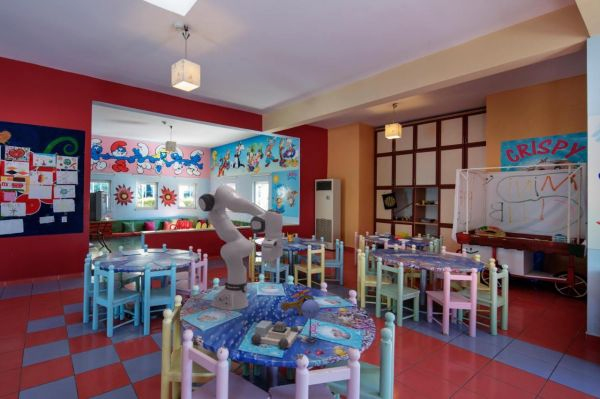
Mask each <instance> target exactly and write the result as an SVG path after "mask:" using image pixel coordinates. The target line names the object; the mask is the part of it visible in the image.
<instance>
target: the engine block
mask: <svg viewBox="0 0 600 399" xmlns="http://www.w3.org/2000/svg"><path fill="white" fill-rule="evenodd" d="M272 325H273V332H278V333H285V332H286V327H287V323H285V322H284V321H279V320H278V321H276V322H275V323H274V324H272Z"/></svg>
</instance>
